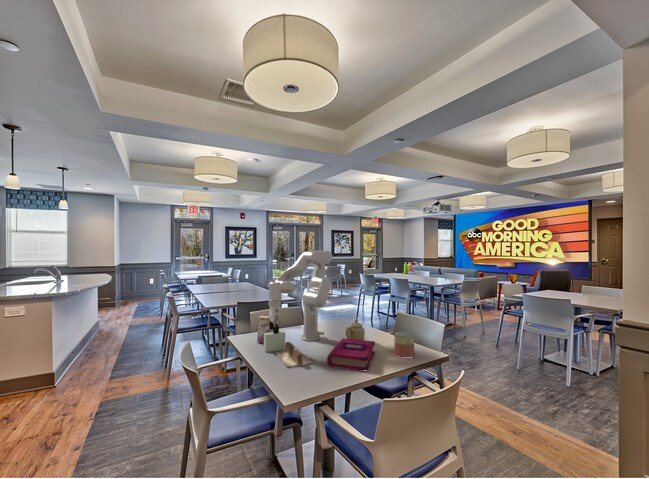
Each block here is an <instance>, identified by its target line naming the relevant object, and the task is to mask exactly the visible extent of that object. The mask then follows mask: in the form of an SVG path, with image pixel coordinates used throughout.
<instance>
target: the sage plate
mask: <svg viewBox="0 0 649 479" xmlns="http://www.w3.org/2000/svg"><path fill="white" fill-rule="evenodd" d="M285 350H286V331H284V330H281V331H280V330H279V333H278V334H274V333H273V332H270V333H264V343H263V351H264V352H265V353H267V352H269V353H270V352H274V351H275V352H278V351H285Z"/></svg>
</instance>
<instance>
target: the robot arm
mask: <svg viewBox="0 0 649 479" xmlns="http://www.w3.org/2000/svg"><path fill="white" fill-rule="evenodd" d="M332 261H333V254H332V252H330V251H329V250H306V251H302V253H301V254H300V256H299V257H298V258H297V260H296V261H295V262H294V264H293V265H292V266H290V267H289V268H287V269H286V270H284V271H283V272H282V273H280V275H278V277H277V278H276V280H275V281H270V283H269V286H268V306H269V312H268V313H269V314H268V316H269V320H270V321H269V322H270V323H269V329H270V330H272V329H273V333H274V334H278V333H279V331H280V323H281V321H282V316H281V314H282V312H281V306H282V294H292V293H294V291H295V284H294V283H293V282H291V280H292V279H294V278H297V277H300V276H302V275H303V274H305V272H306V270H307V269H308V268H309V267H310V265H313V271H312V274H311V277H310V281H309V288H310V289H311V290H307V291H305V292H304V293H303V295H302V298H301V299H302V305H303V334H302V335H301V336H300V337H301V338H300V339H301V340H302V341H306V342H314V341H318V340H320V338H321V337H320V336H324V335H325V331H319V330H318V327H319V326H318V325H319V324H318V322H319V321H318V318H319V317H318V316H319V310H318V308H324V306H326V304H327V303H328V299H329V295H330V293H331V292H330V291H331V288H332V281H331V279H330V278H329V277H325V276H326V272H327V270H326V264H327V265H328V264H330V263H331V262H332ZM312 290H313V291H312ZM275 323H276V324H275Z"/></svg>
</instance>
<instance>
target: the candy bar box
mask: <svg viewBox="0 0 649 479" xmlns="http://www.w3.org/2000/svg"><path fill="white" fill-rule="evenodd" d="M269 321H270V320H269V315H268V316H267V315H260V316H258V317H257V344H259V343H260V344H264V333H270V332H273V329H272V330H270V329H269V323H270V322H269ZM275 324H276V323H275Z"/></svg>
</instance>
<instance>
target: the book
mask: <svg viewBox="0 0 649 479" xmlns="http://www.w3.org/2000/svg"><path fill="white" fill-rule="evenodd" d="M375 345H376V342H375V341H373V340H364V341H363V340H354V339H348V338H344V337H343V338H342V339H340V341H339V342H338V343H337V344H336V345H335V347H334V348H333V349H331V351H330V352H329V353H328V355H327V361H326V363H327V365H328V366H329V367H333V368H339V367H340V368H341V369H346V368H348V370H354V369H357V370H356V371H360V370H368V371H369V369H370V365H371V364H372V361H371V360H373V358H374V356H375V354H376V352H375V350H373V349H374V348H375ZM373 355H374V356H373ZM368 368H369V369H368Z"/></svg>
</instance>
